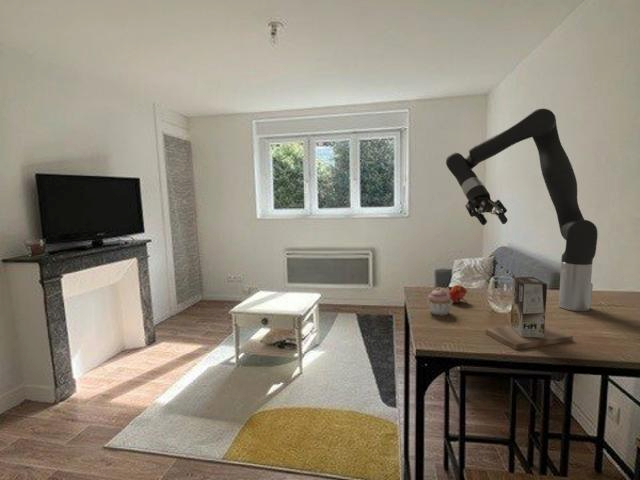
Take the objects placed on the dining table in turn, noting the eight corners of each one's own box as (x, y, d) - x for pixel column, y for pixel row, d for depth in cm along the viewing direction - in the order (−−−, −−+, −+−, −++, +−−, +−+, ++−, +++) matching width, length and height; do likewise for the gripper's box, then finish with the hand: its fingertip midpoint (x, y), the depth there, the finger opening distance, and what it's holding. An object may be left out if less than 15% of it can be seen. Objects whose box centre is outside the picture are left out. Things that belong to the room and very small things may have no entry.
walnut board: (538, 326, 114) (538, 321, 114) (572, 340, 102) (573, 336, 102) (485, 333, 109) (485, 328, 109) (515, 349, 98) (515, 344, 97)
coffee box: (545, 338, 101) (548, 284, 99) (521, 337, 102) (523, 283, 100) (531, 326, 110) (534, 276, 108) (509, 325, 111) (511, 276, 109)
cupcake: (422, 309, 133) (422, 284, 132) (446, 308, 134) (446, 283, 132) (431, 318, 124) (432, 290, 123) (457, 316, 124) (458, 289, 123)
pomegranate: (464, 305, 143) (445, 289, 147) (476, 293, 139) (455, 277, 143) (459, 312, 138) (439, 295, 141) (472, 300, 134) (450, 283, 137)
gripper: (463, 184, 131) (483, 217, 121) (496, 184, 134) (518, 215, 125) (454, 199, 137) (473, 230, 127) (486, 198, 140) (506, 228, 130)
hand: (495, 223), depth 126 cm, fingers open, 8 cm apart
